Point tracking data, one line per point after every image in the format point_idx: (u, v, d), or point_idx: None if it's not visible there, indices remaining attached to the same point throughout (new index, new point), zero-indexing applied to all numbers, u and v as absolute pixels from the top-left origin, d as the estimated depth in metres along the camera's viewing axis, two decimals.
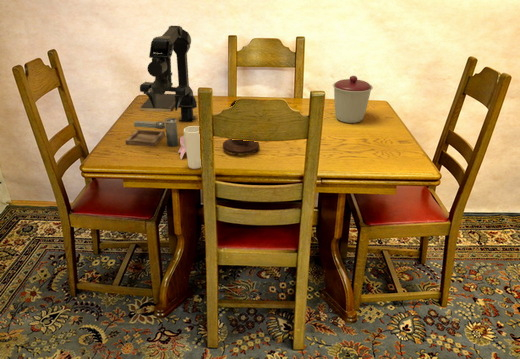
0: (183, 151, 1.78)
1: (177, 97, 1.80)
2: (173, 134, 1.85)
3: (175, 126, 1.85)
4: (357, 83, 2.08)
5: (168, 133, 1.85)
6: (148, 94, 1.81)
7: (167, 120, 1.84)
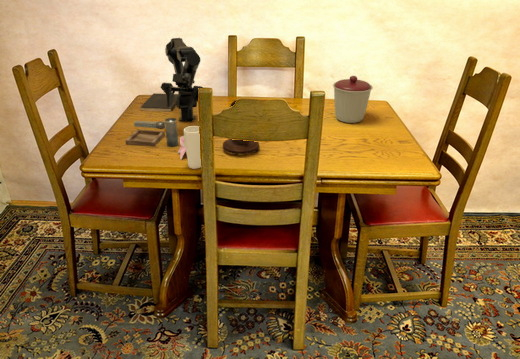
0: (183, 151, 1.78)
1: (193, 93, 1.87)
2: (173, 134, 1.85)
3: (175, 126, 1.85)
4: (357, 83, 2.08)
5: (168, 133, 1.85)
6: (167, 90, 1.90)
7: (167, 120, 1.84)
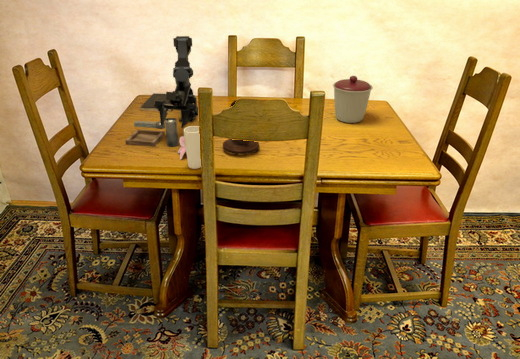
0: (183, 151, 1.78)
1: (187, 111, 1.84)
2: (173, 134, 1.85)
3: (175, 126, 1.85)
4: (357, 83, 2.08)
5: (168, 133, 1.85)
6: (160, 108, 1.87)
7: (167, 120, 1.84)
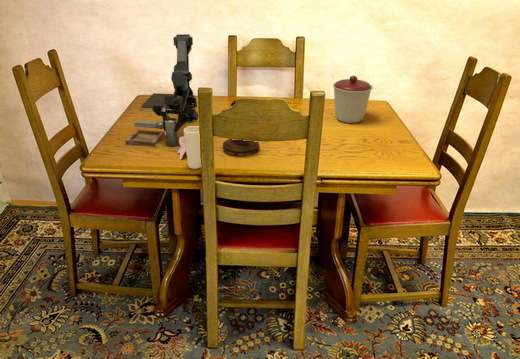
0: (182, 151, 1.78)
1: (180, 115, 1.84)
2: (173, 134, 1.85)
3: (175, 126, 1.85)
4: (357, 83, 2.08)
5: (168, 133, 1.85)
6: (163, 113, 1.86)
7: (167, 120, 1.84)
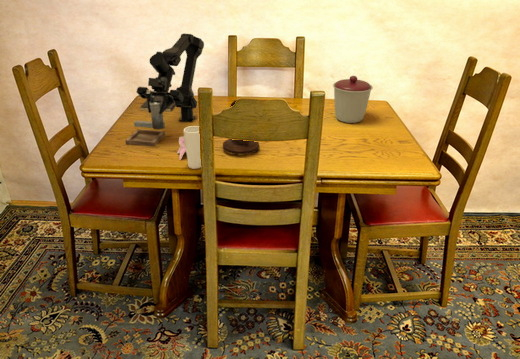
0: (182, 152, 1.78)
1: (165, 97, 1.83)
2: (158, 116, 1.84)
3: (160, 108, 1.84)
4: (357, 83, 2.08)
5: (153, 115, 1.84)
6: (148, 95, 1.85)
7: (152, 102, 1.83)
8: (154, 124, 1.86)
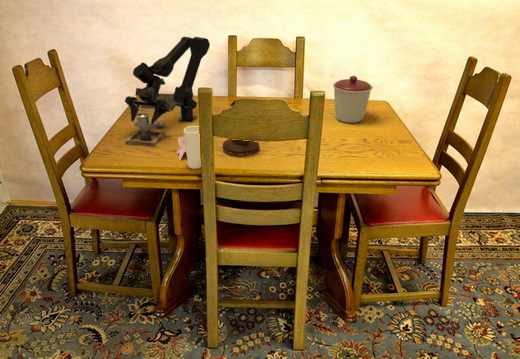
0: (182, 152, 1.77)
1: (156, 107, 1.87)
2: (145, 129, 1.90)
3: (147, 121, 1.89)
4: (357, 83, 2.08)
5: (140, 128, 1.89)
6: (131, 104, 1.90)
7: (139, 115, 1.88)
8: (141, 136, 1.91)
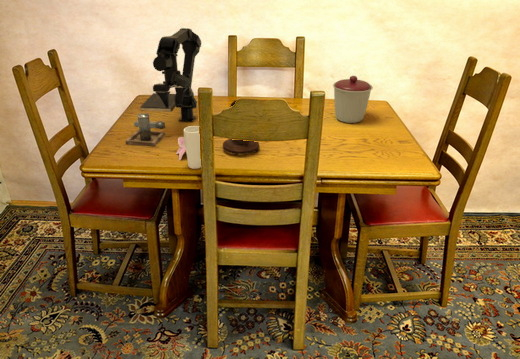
0: (182, 152, 1.77)
1: (186, 89, 1.97)
2: (146, 129, 1.90)
3: (147, 121, 1.89)
4: (357, 83, 2.08)
5: (141, 128, 1.89)
6: (168, 93, 1.87)
7: (139, 115, 1.88)
8: (142, 136, 1.91)
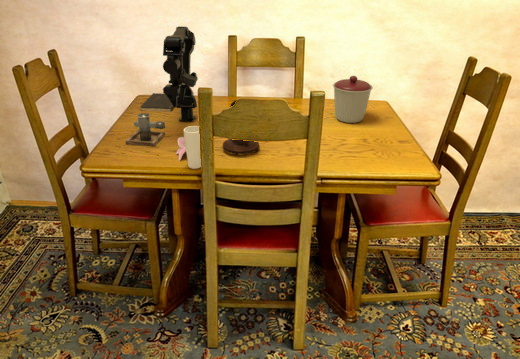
0: (181, 152, 1.77)
1: (187, 86, 1.98)
2: (146, 129, 1.90)
3: (148, 121, 1.89)
4: (357, 83, 2.08)
5: (141, 128, 1.89)
6: (178, 94, 1.87)
7: (140, 115, 1.88)
8: (142, 136, 1.91)
